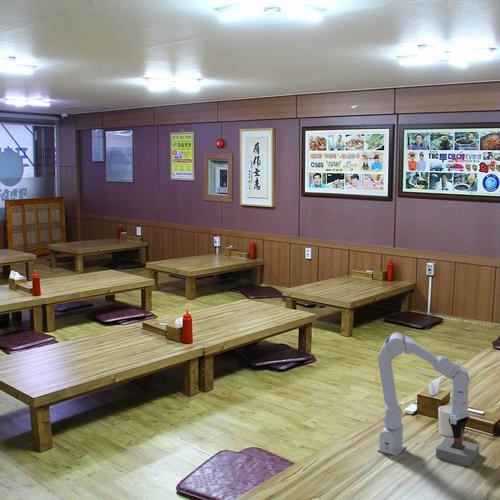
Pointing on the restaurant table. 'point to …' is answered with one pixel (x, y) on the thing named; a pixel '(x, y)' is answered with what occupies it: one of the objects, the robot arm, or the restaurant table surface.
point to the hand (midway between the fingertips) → (458, 436)
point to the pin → (459, 441)
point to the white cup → (445, 421)
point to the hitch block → (457, 451)
